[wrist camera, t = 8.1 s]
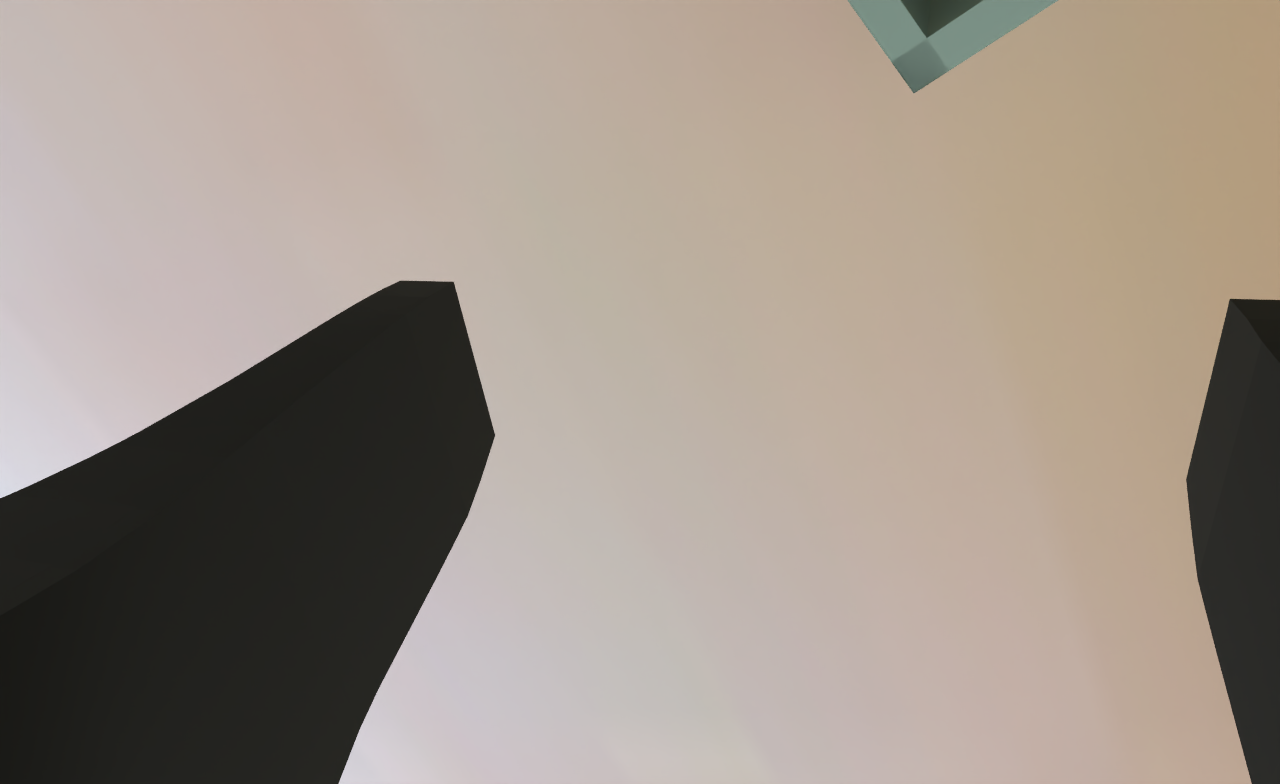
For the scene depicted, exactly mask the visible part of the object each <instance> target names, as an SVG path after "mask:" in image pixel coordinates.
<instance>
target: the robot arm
mask: <svg viewBox="0 0 1280 784" xmlns="http://www.w3.org/2000/svg"><path fill="white" fill-rule="evenodd" d="M494 437H495V433H494V430H493V426H492V422H491V419H490V415H489V411H488V407H487V404H486V400H485V396H484V393H483V389H482V385H481V382H480V378H479V374H478V370H477V367H476V363H475V359H474V356H473V352H472V348H471V345H470V341H469V337H468V333H467V330H466V326H465V322H464V319H463V315H462V311H461V308H460V304H459V300H458V296H457V293H456V289H455V285H454V282H435V281H399V282H397V283H395V284H393V285H391V286H388V287H386V288H384V289H382V290H380V291H378V292H376V293H374V294H373V295H371V296H369V297H367V298H365V299H364V300H362V301H360V302H358V303H357V304H355V305H353V306H351V307H350V308H348V309H346V310H345V311H343V312H341V313H340V314H338V315H336V316H335V317H333V318H331V319H330V320H328V321H326V322H325V323H323V324H321V325H320V326H318V327H317V328H315V329H313V330H312V331H310V332H308V333H307V334H305V335H303V336H302V337H300V338H299V339H297V340H295V341H294V342H292V343H290V344H289V345H287V346H286V347H284V348H282V349H281V350H279V351H277V352H276V353H274V354H272V355H271V356H269V357H268V358H266V359H264V360H263V361H261V362H259V363H258V364H256V365H254V366H253V367H251V368H250V369H248V370H246V371H245V372H243V373H241V374H240V375H238V376H236V377H235V378H233V379H231V380H230V381H228V382H226V383H225V384H223V385H221V386H219V387H218V388H216V389H214V390H212V391H211V392H209V393H207V394H205V395H203V396H202V397H200V398H198V399H196V400H195V401H193V402H191V403H189V404H188V405H186V406H184V407H182V408H181V409H179V410H177V411H175V412H174V413H172V414H170V415H168V416H167V417H165V418H163V419H161V420H159V421H158V422H156V423H154V424H152V425H151V426H149V427H147V428H145V429H144V430H142V431H140V432H138V433H136V434H134V435H132V436H131V437H129V438H127V439H125V440H123V441H121V442H119V443H117V444H115V445H113V446H111V447H109V448H107V449H105V450H103V451H101V452H99V453H97V454H95V455H93V456H91V457H89V458H88V459H85V460H83V461H81V462H79V463H77V464H75V465H73V466H71V467H68V468H66V469H64V470H62V471H60V472H58V473H56V474H54V475H51V476H49V477H47V478H45V479H43V480H41V481H39V482H37V483H34V484H32V485H30V486H28V487H26V488H23V489H21V490H19V491H17V492H14V493H12V494H10V495H7V496H5V497H2V498H0V784H338V783H339V781H340V778H341V775H342V773H343V770H344V768H345V765H346V763H347V760H348V758H349V755H350V752H351V750H352V747H353V745H354V742H355V740H356V737H357V734H358V732H359V730H360V727H361V725H362V723H363V721H364V719H365V717H366V714H367V712H368V710H369V708H370V706H371V704H372V702H373V699H374V697H375V695H376V693H377V691H378V689H379V687H380V685H381V683H382V681H383V679H384V677H385V675H386V673H387V672H388V670H389V668H390V666H391V664H392V662H393V660H394V658H395V656H396V654H397V652H398V650H399V649H400V647H401V645H402V643H403V641H404V639H405V637H406V635H407V633H408V631H409V629H410V627H411V626H412V624H413V622H414V620H415V618H416V616H417V614H418V612H419V610H420V608H421V606H422V605H423V603H424V601H425V599H426V597H427V595H428V593H429V591H430V589H431V587H432V585H433V583H434V582H435V580H436V578H437V576H438V574H439V572H440V570H441V568H442V566H443V564H444V562H445V560H446V558H447V556H448V554H449V552H450V550H451V548H452V546H453V544H454V542H455V540H456V538H457V536H458V534H459V532H460V530H461V528H462V526H463V524H464V522H465V520H466V518H467V516H468V513H469V511H470V508H471V505H472V502H473V500H474V497H475V494H476V492H477V489H478V486H479V483H480V481H481V478H482V474H483V471H484V468H485V465H486V462H487V459H488V456H489V453H490V450H491V446H492V443H493V440H494ZM1186 481H1187V491H1188V500H1189V510H1190V520H1191V529H1192V538H1193V546H1194V554H1195V562H1196V569H1197V577H1198V582H1199V586H1200V590H1201V594H1202V598H1203V602H1204V606H1205V610H1206V613H1207V617H1208V621H1209V625H1210V629H1211V633H1212V636H1213V640H1214V644H1215V648H1216V652H1217V656H1218V659H1219V663H1220V667H1221V671H1222V674H1223V678H1224V682H1225V685H1226V689H1227V693H1228V697H1229V700H1230V704H1231V708H1232V711H1233V715H1234V719H1235V723H1236V726H1237V730H1238V734H1239V737H1240V741H1241V745H1242V749H1243V752H1244V756H1245V760H1246V764H1247V767H1248V771H1249V775H1250V778H1251V782H1252V784H1280V300H1252V299H1230V301H1229V305H1228V309H1227V313H1226V318H1225V322H1224V326H1223V330H1222V334H1221V338H1220V342H1219V347H1218V351H1217V355H1216V359H1215V363H1214V367H1213V371H1212V375H1211V380H1210V384H1209V388H1208V392H1207V396H1206V400H1205V404H1204V408H1203V413H1202V417H1201V421H1200V425H1199V429H1198V433H1197V437H1196V441H1195V446H1194V450H1193V454H1192V458H1191V462H1190V466H1189V470H1188V475H1187V479H1186Z"/></svg>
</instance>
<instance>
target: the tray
mask: <svg viewBox="0 0 1280 784" xmlns="http://www.w3.org/2000/svg"><path fill="white" fill-rule="evenodd" d="M1056 1H1058V0H848V2H849V3H850V4H851V6H852V7H853V9H854V10H855V11H856V13H857V14H858V16H859V17H860V18H861V20H862V21H863V23H864V24H865V25H866V27H867V28H868V30H869V31H870V32H871V34H872V35H873V37H874V38H875V40H876V41H877V42H878V44H879V45H880V47H881V48H882V49H883V51H884V52H885V54H886V55H887V56H888V58H889V59H890V61H891V62H892V63H893V65H894V66H895V68H896V69H897V70H898V72H899V73H900V75H901V76H902V77H903V79H904V80H905V82H906V83H907V84H908V86H909V87H910V89H911V90H912V91H913V93H915V92H917V91H918V90H920V89H921V88H923V87H925V86H926V85H928V84H929V83H931V82H932V81H934V80H935V79H937V78H939V77H940V76H942V75H943V74H945V73H946V72H948V71H949V70H951V69H952V68H954V67H956V66H957V65H959V64H960V63H962V62H963V61H965V60H966V59H968V58H969V57H971V56H973V55H974V54H976V53H977V52H979V51H980V50H982V49H983V48H985V47H987V46H988V45H990V44H991V43H993V42H994V41H996V40H997V39H999V38H1000V37H1002V36H1004V35H1005V34H1007V33H1008V32H1010V31H1011V30H1013V29H1014V28H1016V27H1018V26H1019V25H1021V24H1022V23H1024V22H1025V21H1027V20H1028V19H1030V18H1031V17H1033V16H1035V15H1036V14H1038V13H1039V12H1041V11H1042V10H1044V9H1045V8H1047V7H1048V6H1050V5H1052V4H1053V3H1055V2H1056Z"/></svg>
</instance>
